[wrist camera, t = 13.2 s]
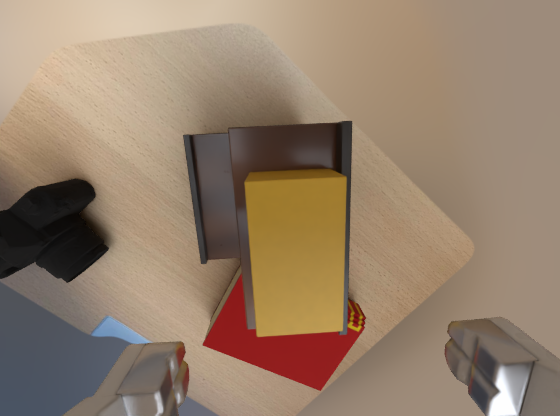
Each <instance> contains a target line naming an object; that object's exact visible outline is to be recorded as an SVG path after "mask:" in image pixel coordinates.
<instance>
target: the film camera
mask: <svg viewBox="0 0 560 416" xmlns="http://www.w3.org/2000/svg"><path fill="white" fill-rule="evenodd" d="M94 198H95V192H94V188H93V187H92V186H91V185H90V184H89V183H87V182H86V181H84V180H79V179H71V180H68V181H63V182H59V183H54V184H50V185H46V186H38V187H36V188H34V189H31V190H30V191H28V192H27V193H26V194H25V195H24V196H23V197H21V198H20V199H19V200H18V201H17V202H16V203H15V204H14V205H13V206H12V207H11V208H10V209H7V210H3V211H0V279H2V278H5V277H8V276H10V275H11V274H13V273H15V272H17V271H19V270H21V269H23V268H25V267H27V266H28V265H30V264H32V263H34V262H36V264H37V265H38V266H39V267H41V268H44V269H46V270H47V271H48V272H49V273H51V274H52V275H53V276H55V277H56V278H62V279H63V280H64V281H66V282H67V283H68V282H70V281H72V280H73V279H75V278H76V277H77V276H78V275H80V274H81V273H82V272H84V271H85V270H86V269H87V268H89V267H90V266H91V265H92V264H93V263H95V262H96V261H97V260H98V259H99V258H100V257H101V256H102V255H104V254H105V253H106V252H107V251H108V249H109V248H108V247H107V246H106V245H105V244H104V241H103V240H102V239H101V238H100V237H99V236H97V235H96V234H95V233H94V232H92V229H91V228H90V227H88V226H86V225H84V224H85V222H86V221H85V220H84V219H83V218H82V217H81V216H80V215H79V214H80V212H81V211H82V210H83V209H84V208H85V207H86V206H87V205H88V204H89V203H90V202H91V201H93V199H94Z"/></svg>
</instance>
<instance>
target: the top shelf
mask: <svg viewBox="0 0 560 416" xmlns="http://www.w3.org/2000/svg"><path fill="white" fill-rule="evenodd" d="M228 136H229V146H230V157H231V167H232V178H233V188H234V199H235V209H236V219H237V230H238V240H239V251H240V261H241V272H242V282H243V292H244V303H245V313H246V324H247V329H256V323H255V310H254V298H253V285H252V272H251V260H250V247H249V234H248V222H247V209H246V196H245V183H244V182H245V180H246V178H247V176H248V175H249V173H250V172H266V171H287V170H307V169H328V168H330V169H332V170H334V171H336V172H338V173H340V174H342V175H344V176H346V177H347V183H346V223H345V264H344V305H343V331H338V333H339V335H347V326H348V283H349V241H350V198H351V155H352V121H342V122H338V123H317V124H296V125H275V126H254V127H234V128H228Z"/></svg>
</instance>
